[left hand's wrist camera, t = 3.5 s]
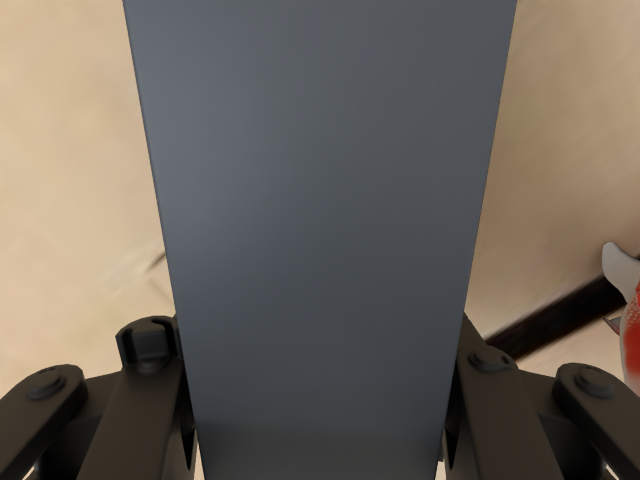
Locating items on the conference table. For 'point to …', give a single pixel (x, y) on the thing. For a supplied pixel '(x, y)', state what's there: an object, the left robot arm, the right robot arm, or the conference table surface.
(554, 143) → the conference table surface
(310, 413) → the bar
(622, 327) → the fish
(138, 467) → the left robot arm
